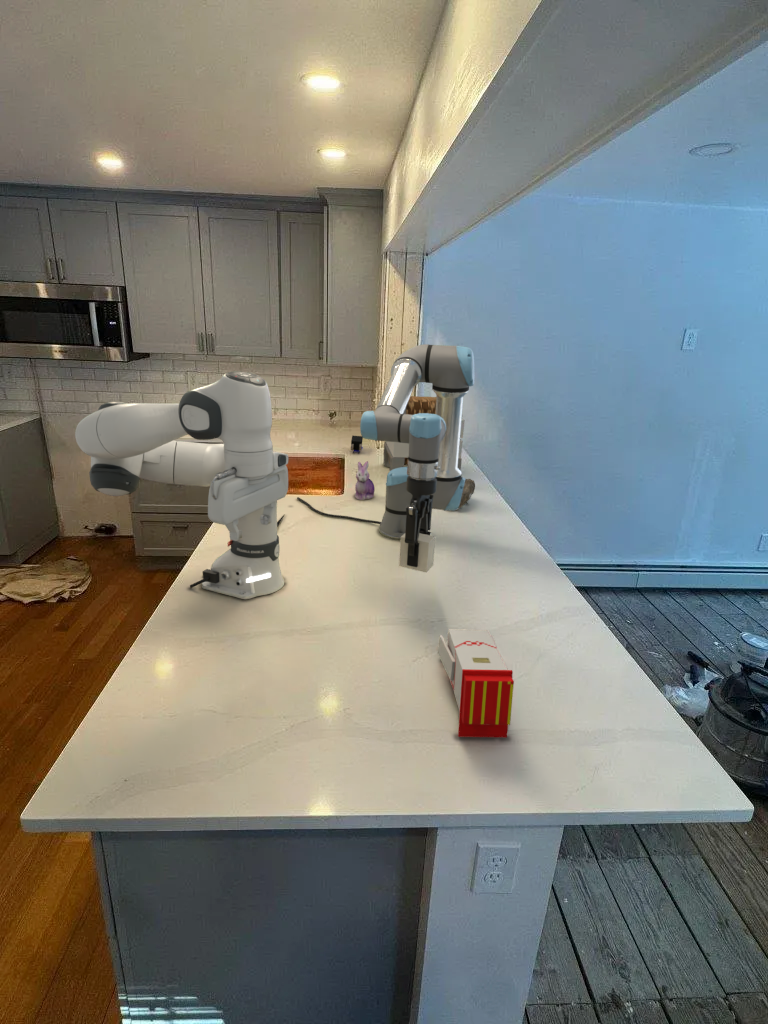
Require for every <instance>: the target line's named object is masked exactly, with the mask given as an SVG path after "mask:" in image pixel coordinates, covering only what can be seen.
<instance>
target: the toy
mask: <svg viewBox="0 0 768 1024" xmlns="http://www.w3.org/2000/svg"><path fill="white" fill-rule="evenodd" d="M446 640H447V643H446V641H445V639H444V636H443V635H442V634H439V637H438V646H437V656H438V657H439V659H440V661H441V663H442V666H443V668H444V670H445V672H446V674H447V677H448V679H449V681H450V684H451V687H452V690H453V693H454V697H455V701H456V705H457V708H458V711H459V714H458V715H459V716H458V730H457V731H458V732H457V737H458V738H508V731H509V726H510V725H511V717H512V707H513V697H514V696H513V695H514V684H515V680H514V679H513V673H514V671H513V670H512V669H508V667H507V665H506V662H505V661H504V659H503V658H502V655H501V653H500V651H499V649H498V647H497V643H496V639H495V637H494V635H493V634H491V632H490V631H489V629H467V628H466V629H465V628H463V629H461V628H460V629H459V628H448V630H447V639H446Z"/></svg>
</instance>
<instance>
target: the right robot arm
mask: <svg viewBox="0 0 768 1024" xmlns="http://www.w3.org/2000/svg"><path fill="white" fill-rule="evenodd" d="M475 370H476V369H475V355H474V351H473V349H472V348H471V347H468V346H461V345H446V344H445V345H444V344H443V345H442V344H426V343H425V344H424V343H423V344H418V345H415V346H412V347H411V348H409V349H407V350H405V351H404V352H402V353H401V354H400V355H399V356H397V358H396V359H395V360H394V362H393V364H392V366H391V368H390V378H389V380H388V382H387V384H386V387H385V388H384V391H383V393H382V395H381V397H380V399H379V401H378V403H377V406H376V408H375V409H374V410H366V411H364V412H363V413H362V415H361V418H360V425H359V430H360V436H362V437H363V440H364V439H365V440H369V441H375V442H386V441H388V442H400V443H409V456H408V466H407V465H406V466H404V467H401V468H396V469H393V470H391V471H390V470H389V472H388V473H387V475H386V482H385V504H384V505H385V507H384V508H385V509H384V513H383V515H382V519H381V521H379V520H371V519H365V518H359V517H354V516H350V515H349V516H348V515H341V514H340V515H339V514H331V513H326V512H323V511H321V510H318V509H317V508H314V507H313V506H312V505H311V504H310V503H308V502H307V501H305V500H304V499H302V498H301V497H299V496H298V497H296V500H298V501H299V502H301V503H303V504H304V505H306V506H307V507H308V508H309V509H310V510H311V511H313V512H314V513H316V514H319V515H322V516H325V517H330V518H337V519H346V520H351V521H358V522H364V523H367V524H369V523H370V524H376V525H379V527H378V533H379V534H380V535H381V536H382V537H385V538H387V539H389V540H395V541H401V536H402V535H403V534H405V543H408V556H407V565H408V566H413V567H417V566H418V554H419V543H418V538H419V533H421V534H426V535H432V534H431V533H432V532H431V527H432V526H431V525H432V513H433V512H432V511H433V510H442V511H451V512H452V511H453V512H454V511H457V510H458V508H459V505H460V501H461V497H462V492H463V488H464V484H465V479H466V478H465V477H463V476H462V470H461V471H460V470H459V468H458V455H459V443H460V439H461V438H460V431H461V420H462V419H463V408H464V407H463V406H464V398H465V397H464V396H465V395H467V394H468V393H469V392H470V387H473V386H474V385H475V373H476V371H475ZM419 383H425V384H432V385H431V391H433V393H435V397H436V410H435V414H429V413H418V414H414V415H409V414H403V413H404V411H405V408H406V406H407V403H408V401H409V398H410V396H411V395H412V393H413V391H414V388H415V387H416V386H417V385H418V384H419ZM459 509H460V508H459Z"/></svg>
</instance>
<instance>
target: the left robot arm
mask: <svg viewBox="0 0 768 1024" xmlns="http://www.w3.org/2000/svg"><path fill="white" fill-rule="evenodd" d="M272 426H273V408H272V398H271V392H270V388H269V385H268V382H267V380H265V378H263V377H262V376H261V375H259V374H256V373H253V372H249V371H247V372H246V371H243V370H242V371H241V370H240V371H239V370H234V371H233V370H232V371H228V372H226V373H224V374H223V375H222V377H220V379H217V380H216V381H215V382H212V383H210V384H208V385H204V386H201V387H197V388H194V389H190V390H188V391H186V392H185V393H184V394H183V395H182V396H181V398H180V400H179V403H144V402H143V403H142V402H141V403H140V402H139V403H138V402H137V403H136V402H135V403H133V402H132V403H128V402H127V403H126V402H122V401H107V402H105V403H103V404H101V405H99V407H98V409H97V410H96V411H93V412H91V413H90V414H88V415H87V416H85V417H83V418H82V419H81V420H80V421H78V424H77V425H76V428H75V430H74V431H75V432H74V438H75V442H76V444H77V446H78V447H79V449H80V450H81V452H82V453H84V454H86V455H87V456H89V457H90V470H89V473H88V474H89V480H90V486H91V487H93V489H94V490H95V491H96V492H99V493H101V494H103V495H106V496H110V497H123V496H128V495H131V494H134V492H137V489H138V486H139V484H140V481H141V479H142V480H145V481H146V480H147V481H151V482H155V483H159V484H167V485H178V486H189V487H190V486H191V487H204V488H208V487H209V489H208V497H207V517H208V519H209V520H210V521H211V522H212V523H214V524H218V525H222V526H225V527H226V529H227V530H228V532H229V539H230V540H229V541H227V547H228V548H229V547H230V548H229V549H227V550H226V551H224V552H223V553H222V554H220V555H219V556H218V557H217V558H215V559H214V561H213V562H212V564H211V567H210V569H209V568H206V569H205V570H202V579H199V580H198V581H196V582H194V583H191V584H189V588H190V589H192V588H195V587H197V586H199V585H201V588H202V589H203V590H207V591H211V592H215V593H219V594H222V595H226V596H230V597H234V598H238V599H240V600H241V599H242V600H251V599H253V598H255V597H259V596H266V595H269V594H273V593H276V592H277V591H279V590H281V589H282V588H283V587H284V585H285V579H284V577H283V574H282V569H281V564H280V551H281V550H280V549H281V547H280V546H281V545H280V536H279V535H278V527H277V522H278V501H279V500H281V499H284V498H285V497H286V496H287V493H288V491H289V470H288V466H287V465H288V464H289V454H288V453H285V452H280V451H275V450H274V444H273V440H272V437H271V430H272ZM185 436H190V437H191V438H193V439H194V440H197V441H211V440H215V439H216V440H217V439H218V440H221V441H222V442H223V443H203V442H195V441H194V442H193V441H184V440H178V439H180V438H183V437H185Z"/></svg>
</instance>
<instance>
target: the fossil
mask: <svg viewBox="0 0 768 1024" xmlns="http://www.w3.org/2000/svg"><path fill="white" fill-rule="evenodd" d="M475 490H476V483H475V480H473V479H471V478H465V484H464V488H463V492H462V497H461V501H460V505H459V508H458V509H462V507H463V506H465V505H468V504H469V503H468V502H469V501H470V500H471V497H472V496H473V495H474V494H475ZM458 509H457V510H458Z"/></svg>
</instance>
